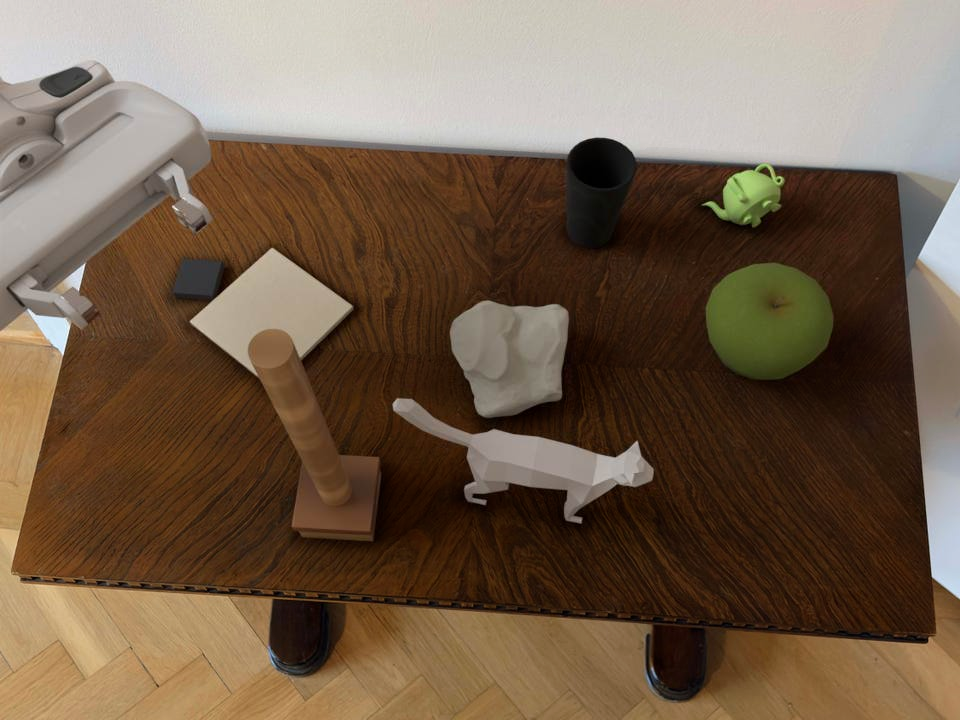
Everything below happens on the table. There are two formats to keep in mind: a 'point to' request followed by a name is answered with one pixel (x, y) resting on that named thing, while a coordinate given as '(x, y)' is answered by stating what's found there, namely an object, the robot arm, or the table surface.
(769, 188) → the green kettle
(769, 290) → the apple
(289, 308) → the tile
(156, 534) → the table surface
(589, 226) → the cup
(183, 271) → the felt pad
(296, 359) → the wooden post stand
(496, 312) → the decorative stone
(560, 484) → the cat figurine
